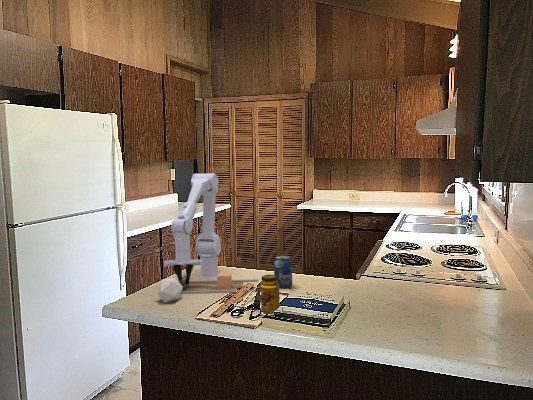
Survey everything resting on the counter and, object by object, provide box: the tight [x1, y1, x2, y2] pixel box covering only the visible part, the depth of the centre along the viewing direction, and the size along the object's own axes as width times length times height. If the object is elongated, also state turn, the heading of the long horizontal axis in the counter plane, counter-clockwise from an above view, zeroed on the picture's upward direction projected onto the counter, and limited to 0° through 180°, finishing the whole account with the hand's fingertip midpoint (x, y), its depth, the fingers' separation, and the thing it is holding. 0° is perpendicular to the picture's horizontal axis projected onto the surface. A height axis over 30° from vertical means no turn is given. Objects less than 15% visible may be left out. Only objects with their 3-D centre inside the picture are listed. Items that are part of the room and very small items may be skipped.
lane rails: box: [177, 278, 259, 296], centre depth 172 cm, size 15×36×1 cm, turn 90°
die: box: [156, 277, 183, 304], centre depth 159 cm, size 8×9×10 cm
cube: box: [216, 272, 233, 289], centre depth 172 cm, size 5×5×5 cm
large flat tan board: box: [180, 274, 245, 291], centre depth 172 cm, size 12×24×4 cm, turn 90°
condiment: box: [260, 274, 281, 314], centre depth 145 cm, size 7×8×12 cm
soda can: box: [273, 255, 293, 290], centre depth 171 cm, size 7×7×12 cm
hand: (184, 283), depth 172 cm, fingers closed on large flat tan board, 2 cm apart
